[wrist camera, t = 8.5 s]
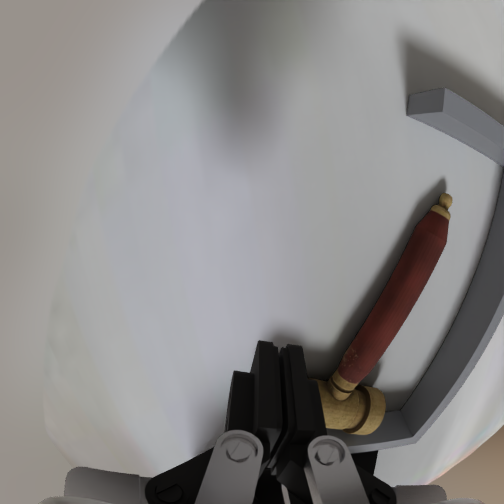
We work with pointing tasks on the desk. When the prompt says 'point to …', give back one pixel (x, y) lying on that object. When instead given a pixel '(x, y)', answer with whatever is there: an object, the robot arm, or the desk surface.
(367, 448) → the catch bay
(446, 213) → the gavel
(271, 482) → the device stand
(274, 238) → the desk surface
